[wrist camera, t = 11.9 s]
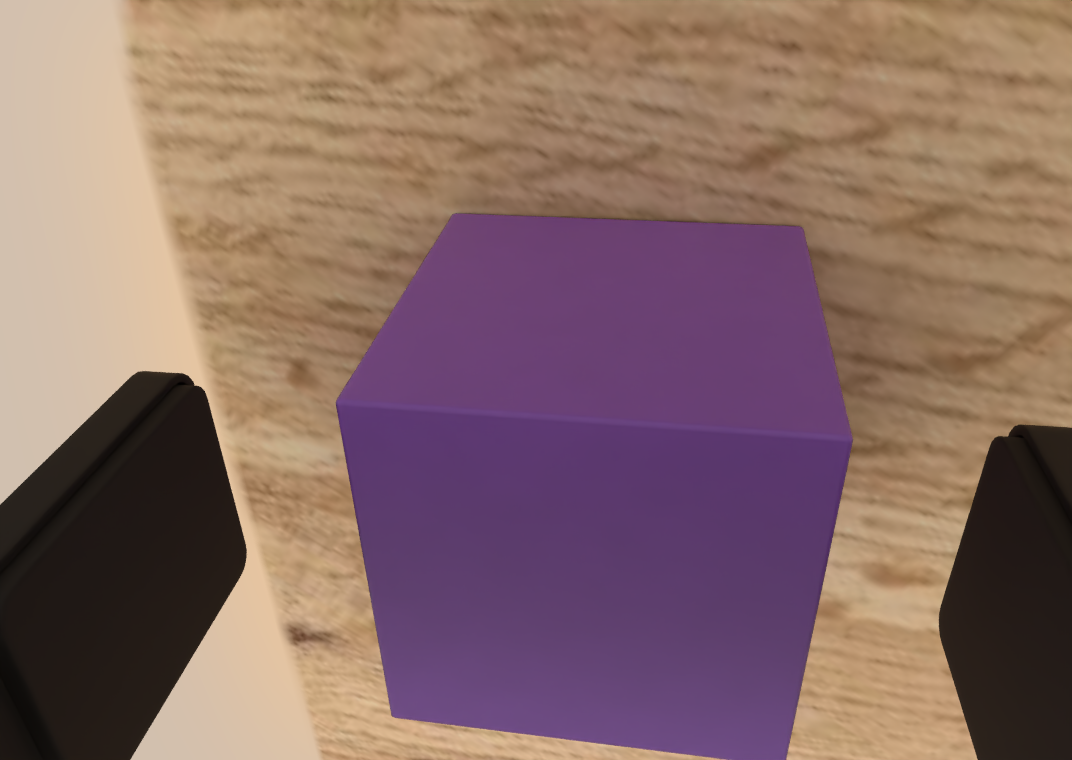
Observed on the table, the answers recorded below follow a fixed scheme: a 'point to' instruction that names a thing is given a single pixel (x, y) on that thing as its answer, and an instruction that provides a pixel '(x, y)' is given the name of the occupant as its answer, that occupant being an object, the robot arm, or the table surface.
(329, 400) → the table surface
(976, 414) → the table surface
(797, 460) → the cube
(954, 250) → the table surface
